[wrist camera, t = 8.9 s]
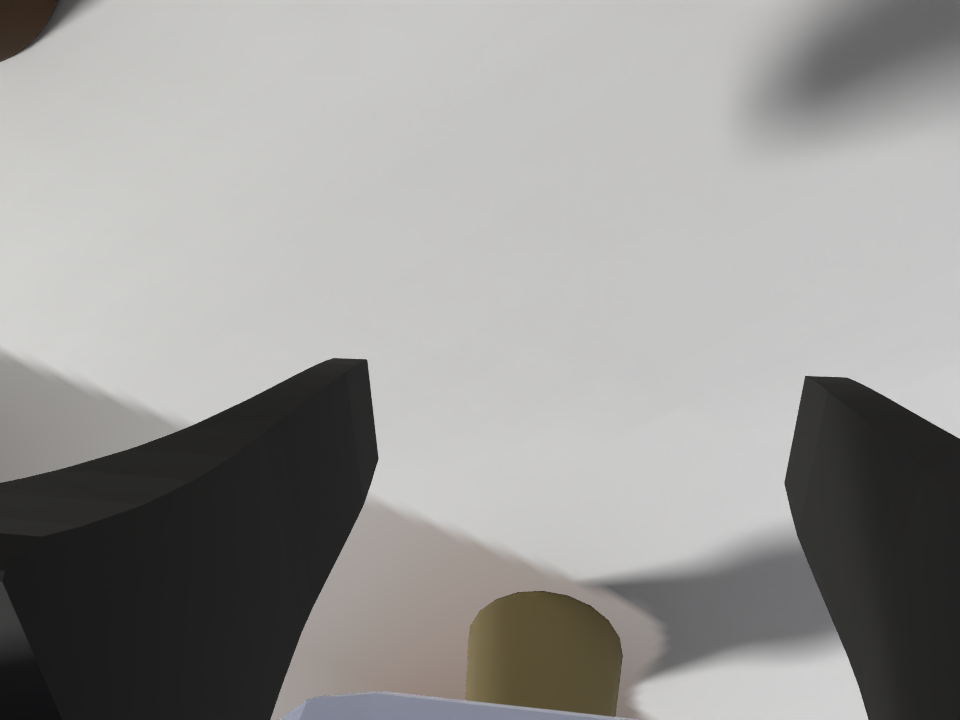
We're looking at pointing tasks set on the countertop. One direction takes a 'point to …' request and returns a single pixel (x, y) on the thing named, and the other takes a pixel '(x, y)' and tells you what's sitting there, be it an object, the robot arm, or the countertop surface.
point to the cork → (544, 655)
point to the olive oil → (21, 23)
